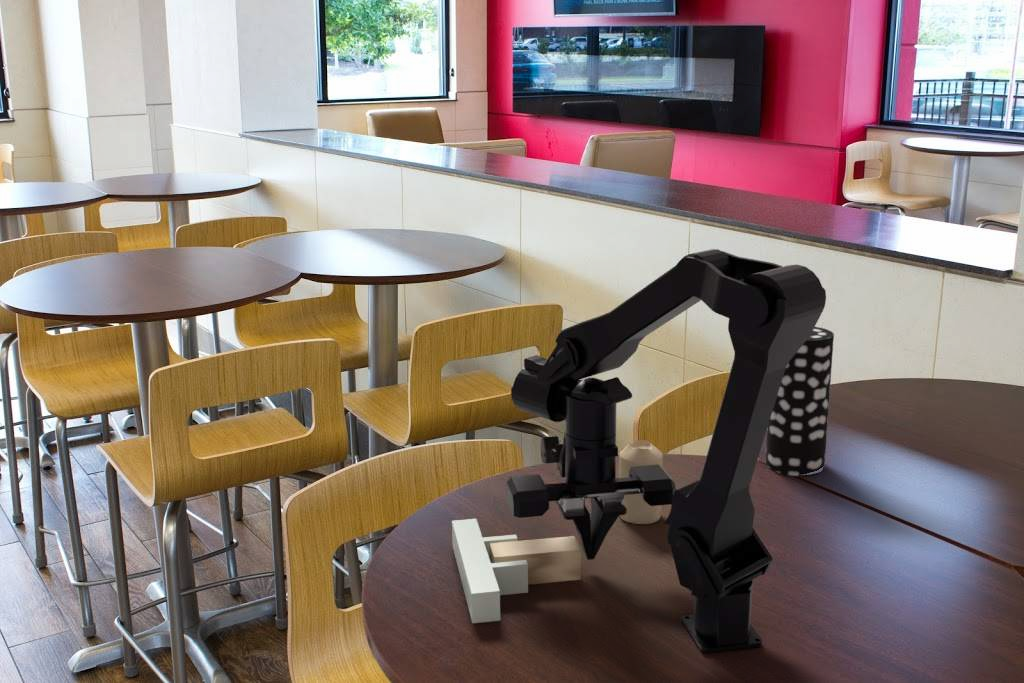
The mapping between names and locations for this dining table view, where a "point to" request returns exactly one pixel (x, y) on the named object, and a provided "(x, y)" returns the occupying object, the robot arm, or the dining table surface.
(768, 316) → the robot arm
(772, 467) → the spotted tube
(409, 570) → the dining table surface
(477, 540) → the rail
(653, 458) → the candle
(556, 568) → the tan wooden block
